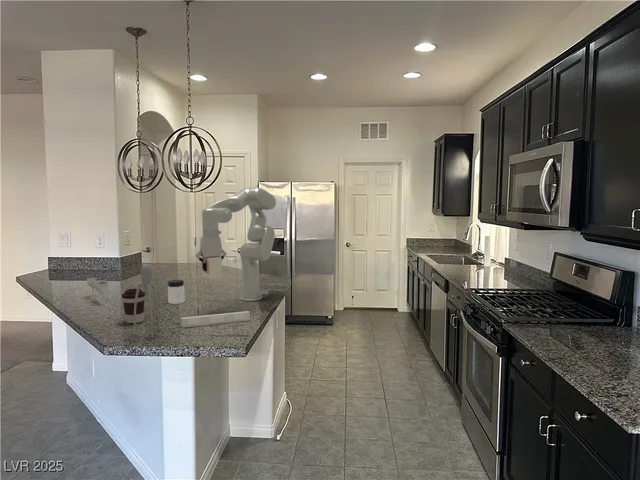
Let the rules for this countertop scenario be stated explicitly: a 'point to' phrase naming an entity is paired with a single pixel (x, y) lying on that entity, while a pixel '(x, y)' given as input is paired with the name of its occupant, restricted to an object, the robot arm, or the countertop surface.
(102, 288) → the goblet set
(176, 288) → the jar
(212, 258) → the box
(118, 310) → the countertop surface
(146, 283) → the juicer
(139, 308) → the coffee cup
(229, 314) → the rail
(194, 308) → the countertop surface
